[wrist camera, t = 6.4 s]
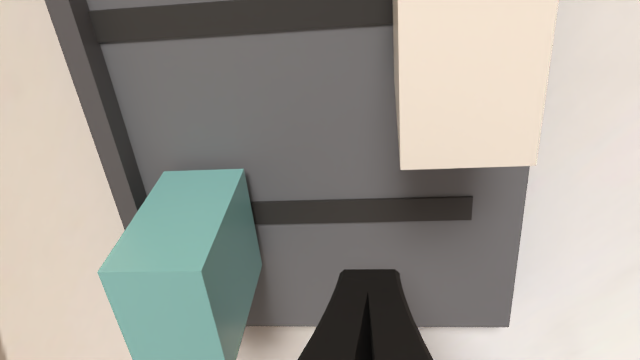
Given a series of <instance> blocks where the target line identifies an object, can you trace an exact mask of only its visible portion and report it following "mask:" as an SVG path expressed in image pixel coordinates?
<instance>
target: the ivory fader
mask: <svg viewBox="0 0 640 360" xmlns="http://www.w3.org/2000/svg"><path fill="white" fill-rule="evenodd" d="M558 2H559V0H393V46H394V86H395V100H396V114H397V128H398V143H399V157H400V170H418V169H450V168H481V167H513V166H536V163H537V156H538V149H539V142H540V134H541V127H542V120H543V112H544V105H545V98H546V90H547V83H548V76H549V68H550V61H551V54H552V46H553V39H554V32H555V24H556V17H557V10H558Z"/></svg>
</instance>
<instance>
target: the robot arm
mask: <svg viewBox="0 0 640 360" xmlns="http://www.w3.org/2000/svg"><path fill="white" fill-rule="evenodd" d="M298 360H433V358H432V356H431V355H430V353H429V351H428V349H427V347H426V345H425V343H424V341H423V339H422V337H421V334H420V332H419V330H418V328H417V326H416V323H415V321H414V319H413V316H412V314H411V312H410V309H409V306H408V303H407V301H406V298H405V295H404V292H403V288H402V284H401V279H400V273H399V272H398V271H397V270H395V269H344V270H343V271H342V272H341V273H340V275H339V278H338V281H337V284H336V287H335V289H334V292H333V294H332V297H331V299H330V301H329V303H328V306H327V308H326V310H325V312H324V314H323V316H322V318H321V320H320V322H319V324H318V325H317V327H316V329H315V331H314V333H313V335H312V337H311V338H310V340H309V342H308V343H307V345H306V347H305V348H304V350H303V352H302V353H301V355H300V357H299V358H298Z"/></svg>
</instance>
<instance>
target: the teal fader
mask: <svg viewBox="0 0 640 360" xmlns="http://www.w3.org/2000/svg"><path fill="white" fill-rule="evenodd" d="M261 268H262V261H261V256H260V251H259V245H258V240H257V235H256V230H255V224H254V219H253V214H252V209H251V203H250V198H249V193H248V188H247V183H246V177H245V172H244V169H219V170H189V171H164V172H163V174H162V175H161V177H160V178H159V180H158V181H157V183H156V184H155V186H154V187H153V189H152V190H151V192H150V193H149V195H148V196H147V198H146V199H145V201H144V202H143V204H142V205H141V207H140V208H139V210H138V211H137V213H136V215H135V216H134V218H133V219H132V221H131V222H130V224H129V225H128V227H127V228H126V230H125V231H124V233H123V234H122V236H121V237H120V239H119V240H118V242H117V243H116V245H115V246H114V248H113V249H112V251H111V252H110V254H109V255H108V257H107V258H106V260H105V261H104V263H103V265H102V266H101V268H100V269H99V271H98V275H99V277H100V280H101V282H102V285H103V287H104V290H105V292H106V295H107V297H108V300H109V302H110V305H111V307H112V310H113V312H114V315H115V317H116V320H117V322H118V325H119V327H120V330H121V332H122V334H123V337H124V339H125V342H126V344H127V347H128V349H129V352H130V354H131V357H132V359H133V360H236V358H237V355H238V351H239V347H240V344H241V340H242V336H243V333H244V329H245V326H246V322H247V318H248V315H249V311H250V308H251V304H252V300H253V297H254V293H255V289H256V286H257V282H258V279H259V275H260V271H261Z"/></svg>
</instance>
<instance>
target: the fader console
mask: <svg viewBox="0 0 640 360" xmlns="http://www.w3.org/2000/svg"><path fill="white" fill-rule="evenodd" d="M45 3H46V5H47V8H48V11H49V14H50V17H51V20H52V23H53V25H54V28H55V31H56V34H57V37H58V40H59V43H60V46H61V48H62V51H63V54H64V57H65V60H66V63H67V66H68V68H69V71H70V74H71V77H72V80H73V83H74V86H75V89H76V91H77V94H78V97H79V100H80V103H81V106H82V109H83V111H84V114H85V117H86V120H87V123H88V126H89V129H90V132H91V134H92V137H93V140H94V143H95V146H96V149H97V152H98V154H99V157H100V160H101V163H102V166H103V169H104V172H105V175H106V177H107V180H108V183H109V186H110V189H111V192H112V195H113V197H114V200H115V203H116V206H117V209H118V212H119V215H120V218H121V220H122V223H123V226H124V229H125V230H126V228H127V227H128V225H129V224H130V222H131V221H132V219H133V218H134V216H135V215H136V213H137V211H138V210H139V208H140V207H141V205H142V204H143V202H144V201H145V199H146V198H147V196H148V195H149V193H150V192H151V190H152V189H153V187H154V186H155V184H156V183H157V181H158V180H159V178H160V177H161V175H162V174H163V172H164V171H189V170H219V169H244V172H245V177H246V183H247V188H248V193H249V198H250V203H251V209H252V214H253V219H254V224H255V230H256V235H257V240H258V245H259V251H260V256H261V261H262V268H261V271H260V275H259V279H258V282H257V286H256V289H255V293H254V297H253V300H252V304H251V308H250V311H249V315H248V318H247V322H246V326H317V325H318V324H319V322H320V320H321V318H322V316H323V314H324V312H325V310H326V308H327V306H328V303H329V301H330V299H331V297H332V294H333V292H334V289H335V287H336V284H337V281H338V278H339V275H340V273H341V272H342V271H343V270H344V269H395V270H397V271H398V272H399V273H400V279H401V284H402V288H403V292H404V295H405V298H406V301H407V303H408V306H409V309H410V312H411V314H412V316H413V319H414V321H415V323H416V326H417V327H509V322H510V314H511V306H512V299H513V291H514V283H515V275H516V268H517V260H518V252H519V245H520V237H521V229H522V221H523V214H524V206H525V198H526V190H527V183H528V175H529V167H530V166H513V167H481V168H450V169H418V170H400V157H399V143H398V128H397V114H396V100H395V86H394V46H393V0H45Z"/></svg>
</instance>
